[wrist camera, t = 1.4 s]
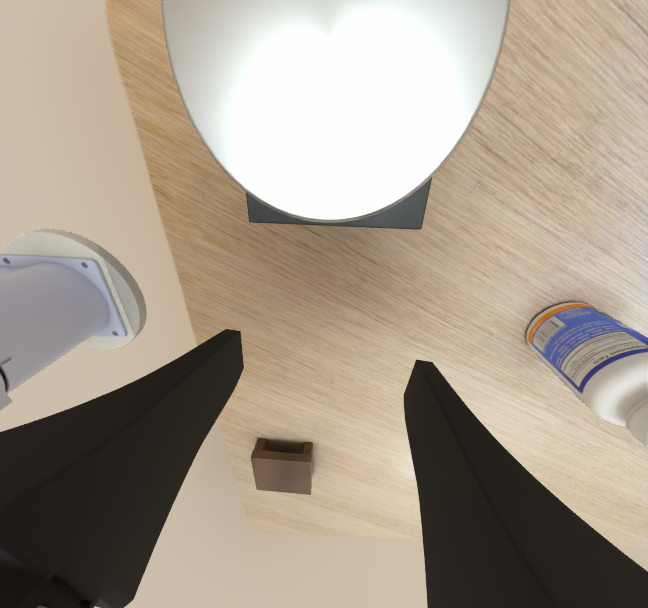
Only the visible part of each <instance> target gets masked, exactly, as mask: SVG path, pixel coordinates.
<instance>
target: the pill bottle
mask: <svg viewBox="0 0 648 608" xmlns="http://www.w3.org/2000/svg"><path fill="white" fill-rule="evenodd" d="M526 339H527V343H528V346H529V347H530V349H531V350H532V351H533V352H534V353H535V354H536V355H537V356H538V357H539V358H540V359H541V360H542V361H543V362H544V363H545V364H546V365H547V366H548V367H549V368H550V369H551V370H552V371H553V372H554V373H555V374H556V375H557V376H558V377H559V378H560V379H561V380H562V381H563V382H564V384H565V385H566V386H567V387H568V388H569V389H570V390H571V391H572V392H573V393H574V394H575V395H576V396H577V397H578V398H579V399H580V400H581V401H582V402H583V403H584V404H585V405H586V406H587V407H588V408H589V409H590V410H591V411H592V412H593V413H594V414H595V415H597V416H598V417H599V418H601V419H603V420H605V421H607V422H610V423H613V424H616V425H621V426H626V427H627V428H628V429H629V431H630V432H631V434H632V435H633V436H634V437H635V438H637V439H638V440H639V441H640V442H641V443H642V444H643V445H645V446H646V447H647V448H648V338H647V337H645V336H644V335H642V334H640V333H639V332H637V331H635V330H633V329H632V328H630V327H628V326H626V325H625V324H623V323H621V322H620V321H618V320H616V319H614V318H613V317H611V316H609V315H608V314H606V313H604V312H602V311H601V310H599V309H597V308H595V307H593V306H591V305H588V304H585V303H579V302H570V303H564V304H560V305H556V306H554V307H551V308H549V309H547V310H545V311H544V312H542V313H541V314H539V315H538V316H537V317H536V318H535V319H534V320H533V321H532V323H531V324H530V326H529V328H528V331H527V336H526Z"/></svg>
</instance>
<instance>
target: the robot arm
mask: <svg viewBox="0 0 648 608" xmlns="http://www.w3.org/2000/svg"><path fill="white" fill-rule="evenodd" d="M86 264H87V265H86ZM127 334H128V332H127V330H126V327H125V325H124V322H123V320H122V318H121V315H120V313H119V310H118V308H117V306H116V303H115V301H114V298H113V296H112V294H111V291H110V289H109V286H108V284H107V282H106V279H105V277H104V274H103V272H102V270H101V267H100V265H99V263H98V262H97V261H96V260H95V259H92V258H73V257H54V256H34V255H15V254H0V410H2V409H3V408H4V407H6V406H7V405H9V404H10V403H11V402H12V400H11V399H10V397H9V396H8V395H7V393H9V392H10V391H12V390H13V389H15V388H16V387H18V386H19V385H21V384H22V383H24V382H25V381H26V380H28V379H29V378H31V377H32V376H34V375H35V374H37V373H38V372H40V371H41V370H43V369H44V368H45V367H47V366H49V365H50V364H52V363H53V362H54V361H56V360H57V359H59V358H60V357H62V356H63V355H65V354H66V353H68V352H69V351H71V350H72V349H74V348H75V347H77V346H78V345H80V344H81V343H83V342H84V341H85V340H87V339H88V338H90V337H91V336H105V337H120V338H123V337H125V336H127ZM243 369H244V365H243V354H242V344H241V333H240V331H235V330H229V329H226V330H224V331H222V332H220V333H219V334H217V335H215V336H214V337H212V338H210V339H209V340H207V341H206V342H204V343H202V344H201V345H199V346H197V347H196V348H194V349H192V350H191V351H189V352H187V353H186V354H184V355H183V356H181V357H179V358H177V359H175V360H174V361H172V362H170V363H168V364H166V365H165V366H163V367H161V368H159V369H157V370H156V371H154V372H152V373H150V374H148V375H146V376H144V377H142V378H140V379H138V380H136V381H134V382H132V383H130V384H127V385H125V386H123V387H121V388H119V389H117V390H115V391H112V392H110V393H107V394H105V395H102V396H100V397H97V398H95V399H93V400H90V401H88V402H85V403H83V404H80V405H78V406H75V407H73V408H70V409H67V410H65V411H62V412H59V413H56V414H54V415H51V416H48V417H45V418H42V419H39V420H36V421H33V422H31V423H28V424H24V425H21V426H18V427H15V428H12V429H9V430H6V431H3V432H0V608H94V607H95V606H97V607H100V608H124V607H125V606H126V605H128V604H129V603H130V602H131V601H132V600H133V599H134V597H135V595H136V592H137V589H138V586H139V584H140V582H141V579H142V577H143V574H144V572H145V569H146V567H147V564H148V562H149V559H150V557H151V555H152V552H153V549H154V547H155V544H156V542H157V540H158V538H159V535H160V533H161V530H162V528H163V526H164V523H165V521H166V519H167V517H168V514H169V512H170V510H171V507H172V505H173V503H174V501H175V499H176V497H177V494H178V492H179V490H180V488H181V486H182V484H183V481H184V479H185V477H186V475H187V473H188V471H189V469H190V467H191V465H192V463H193V460H194V458H195V456H196V454H197V452H198V450H199V449H200V447H201V445H202V443H203V441H204V439H205V438H206V436H207V434H208V433H209V431H210V430H211V428H212V426H213V425H214V423H215V421H216V420H217V418H218V416H219V415H220V413H221V411H222V410H223V408H224V406H225V405H226V403H227V401H228V399H229V398H230V396H231V394H232V393H233V391H234V389H235V387H236V385H237V383H238V380H239V378H240V376H241V373H242V371H243ZM404 411H405V422H406V428H407V433H408V439H409V444H410V449H411V455H412V460H413V465H414V470H415V476H416V481H417V487H418V494H419V503H420V513H421V523H422V534H423V546H424V558H425V572H426V587H427V603H428V608H648V572H647V571H646V570H645V569H644V568H642V567H641V566H640V565H638V564H637V563H636V562H634V561H633V560H632V559H630V558H629V557H628V556H627V555H625V554H624V553H623V552H621V551H620V550H619V549H618V548H616V547H615V546H614V545H613V544H612V543H610V542H609V541H608V540H607V539H605V538H604V537H603V536H602V535H601V534H599V533H598V532H597V531H596V530H594V529H593V528H592V527H591V526H589V525H588V524H587V523H586V522H585V521H583V520H582V519H581V518H580V517H579V516H578V515H576V514H575V513H574V512H573V511H572V510H570V509H569V508H568V507H567V506H566V505H565V504H564V503H562V502H561V501H560V500H559V499H558V498H557V497H556V496H555V495H553V494H552V493H551V492H550V491H549V490H548V489H547V488H546V487H544V486H543V485H542V484H541V483H540V482H539V481H538V480H537V479H536V478H535V477H534V476H532V475H531V474H530V473H529V472H528V471H527V470H526V469H525V468H524V467H523V466H522V465H521V464H520V463H519V462H518V461H517V460H516V459H515V458H514V457H513V456H512V455H511V454H510V453H509V452H508V451H507V450H506V449H505V448H504V447H503V446H502V445H501V444H500V443H499V442H498V441H497V440H496V439H495V438H494V437H493V435H492V434H491V433H490V432H489V431H488V430H487V429H486V428H485V427H484V425H483V424H482V423H481V422H480V421H479V420H478V419H477V418H476V416H475V415H474V414H473V413H472V412H471V411H470V409H469V408H468V407H467V406H466V405H465V403H464V402H463V401H462V400H461V398H460V397H459V396H458V395H457V393H456V392H455V391H454V390H453V388H452V387H451V386H450V384H449V383H448V382H447V381H446V379H445V378H444V377H443V375H442V374H441V373H440V371H439V370H438V369H437V368H436V366H435V365H434V364H433V362H428V361H422V360H416V362H415V365H414V368H413V370H412V373H411V376H410V379H409V382H408V385H407V387H406V390H405V393H404Z"/></svg>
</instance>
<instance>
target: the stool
mask: <svg viewBox="0 0 648 608" xmlns="http://www.w3.org/2000/svg"><path fill="white" fill-rule="evenodd" d="M265 447H266V439H260V438H258V440H257V443H256V446H255V449H254V450H253V452H252V455H251V462H252V467H253V472H254V478H255V483H256V488H257V490H265V491H276V492H287V493H297V494H308V495H311V489H312V448H313V444H312V443H306V442H305V443H304V450H303V454H297V453H285V452H274V451H265Z"/></svg>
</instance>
